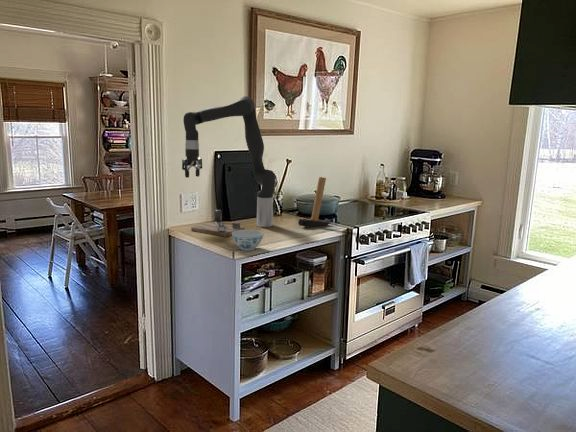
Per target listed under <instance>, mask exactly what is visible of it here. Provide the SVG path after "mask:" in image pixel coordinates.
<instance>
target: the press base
mask: <svg viewBox="0 0 576 432" xmlns="http://www.w3.org/2000/svg"><path fill="white" fill-rule="evenodd" d="M190 230H191V232H197V233H202V234H208V235H213V236H219V237H224V238H226V237H231V236H232V232H234V231H237V230H246V229H245V227H242V226H241V222H237V221H234V222H232V223H231V225H230V224H225V223H224V231H219V230H218V228H217V226H216V224H215V222H213V221H211V222H206V223H202V224H198V225H194V226H191V229H190Z"/></svg>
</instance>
